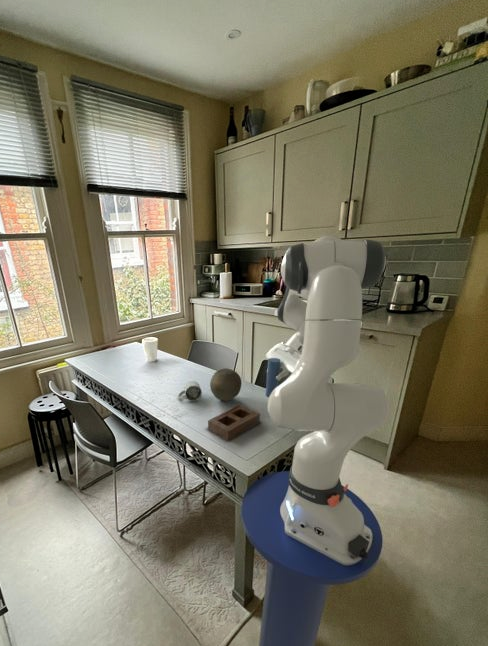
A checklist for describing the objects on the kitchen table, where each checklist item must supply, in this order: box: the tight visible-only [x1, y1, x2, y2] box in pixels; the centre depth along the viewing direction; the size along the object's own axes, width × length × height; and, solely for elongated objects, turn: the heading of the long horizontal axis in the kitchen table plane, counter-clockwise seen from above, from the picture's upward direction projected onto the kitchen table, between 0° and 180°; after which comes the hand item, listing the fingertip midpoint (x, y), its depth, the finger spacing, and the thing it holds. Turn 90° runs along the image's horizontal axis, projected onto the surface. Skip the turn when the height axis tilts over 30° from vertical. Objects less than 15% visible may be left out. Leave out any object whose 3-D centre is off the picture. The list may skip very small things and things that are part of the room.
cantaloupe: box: [209, 367, 242, 402], centre depth 140 cm, size 14×14×15 cm
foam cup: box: [141, 336, 159, 363], centre depth 192 cm, size 10×9×13 cm
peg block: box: [207, 404, 261, 442], centre depth 123 cm, size 10×18×4 cm, turn 130°
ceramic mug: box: [177, 380, 203, 402], centre depth 145 cm, size 11×8×8 cm
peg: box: [265, 358, 281, 398], centre depth 121 cm, size 4×4×15 cm
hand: (272, 376), depth 121 cm, fingers closed on peg, 4 cm apart
